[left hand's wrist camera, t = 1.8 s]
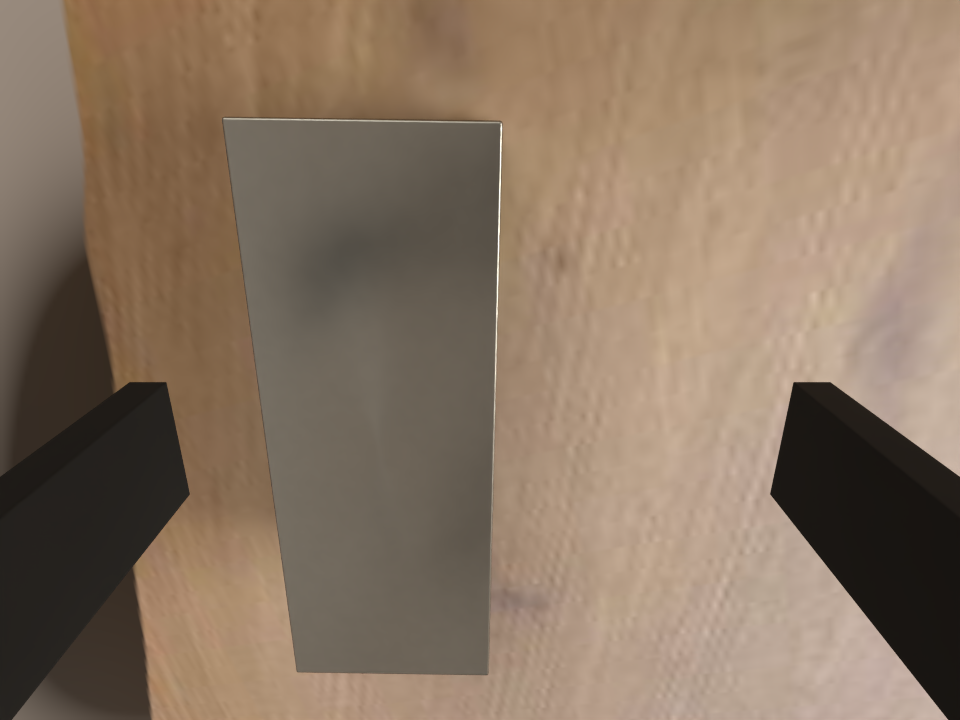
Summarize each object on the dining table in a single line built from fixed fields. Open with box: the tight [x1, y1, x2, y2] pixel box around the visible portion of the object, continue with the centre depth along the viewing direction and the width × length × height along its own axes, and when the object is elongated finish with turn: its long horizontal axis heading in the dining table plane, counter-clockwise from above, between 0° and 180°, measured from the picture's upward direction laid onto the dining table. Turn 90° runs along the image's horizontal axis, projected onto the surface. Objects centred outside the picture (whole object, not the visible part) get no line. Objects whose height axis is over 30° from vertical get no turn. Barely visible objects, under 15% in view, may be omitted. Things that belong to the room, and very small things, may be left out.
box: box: [222, 117, 503, 675], centre depth 24 cm, size 20×8×9 cm, turn 179°
